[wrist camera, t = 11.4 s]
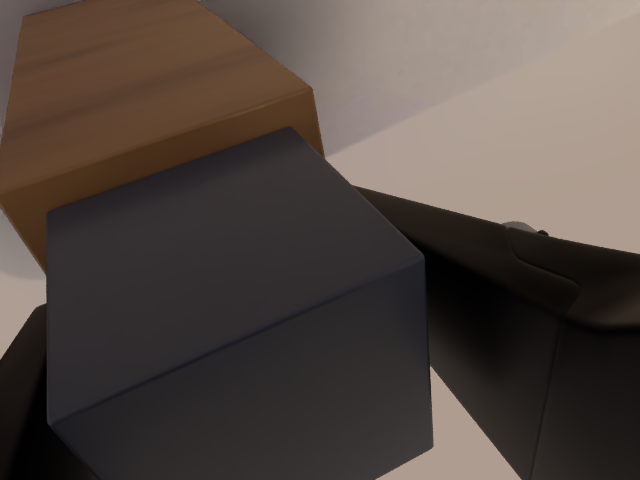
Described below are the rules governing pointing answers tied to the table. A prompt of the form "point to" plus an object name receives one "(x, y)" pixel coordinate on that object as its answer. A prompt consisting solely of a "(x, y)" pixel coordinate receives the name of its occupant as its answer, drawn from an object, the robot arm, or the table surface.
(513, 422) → the robot arm
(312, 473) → the block
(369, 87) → the table surface
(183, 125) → the stand
